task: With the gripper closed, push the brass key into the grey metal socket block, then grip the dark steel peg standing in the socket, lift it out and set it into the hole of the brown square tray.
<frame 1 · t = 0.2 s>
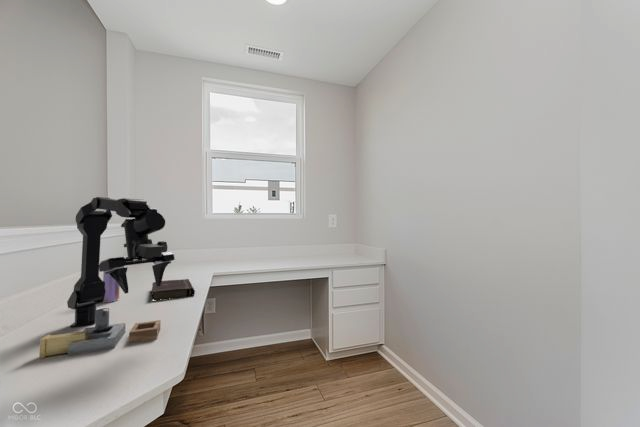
hand: (143, 289, 79), 15 cm above the table, tool pointing down, fingers open, 9 cm apart
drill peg: (101, 340, 80), resting in socket
diary: (171, 294, 135), on the table
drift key: (65, 343, 73), point 3 cm above the table, slide at 0.0 cm
socket: (99, 342, 78), on the table
beverage can: (111, 301, 122), on the table
brown square tray: (145, 335, 83), on the table
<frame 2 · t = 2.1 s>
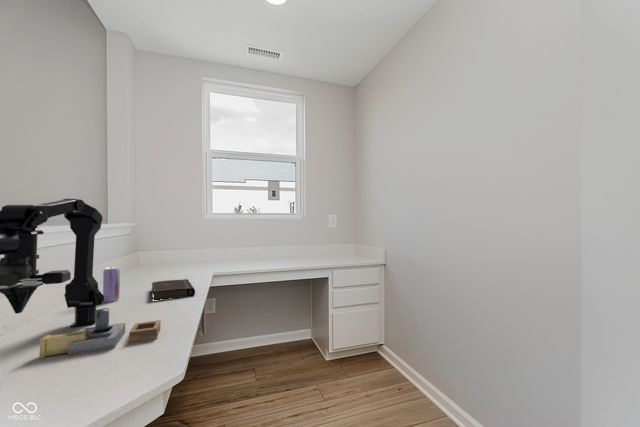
hand: (18, 312, 69), 12 cm above the table, tool pointing down, fingers closed
nothing on the table moved.
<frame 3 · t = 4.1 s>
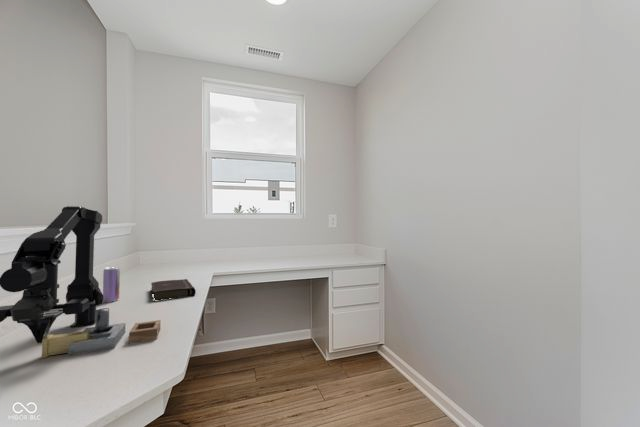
hand: (40, 342, 71), 4 cm above the table, tool pointing down, fingers closed
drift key: (67, 342, 73), point 3 cm above the table, slide at 0.5 cm, touching gripper
everything else where it was.
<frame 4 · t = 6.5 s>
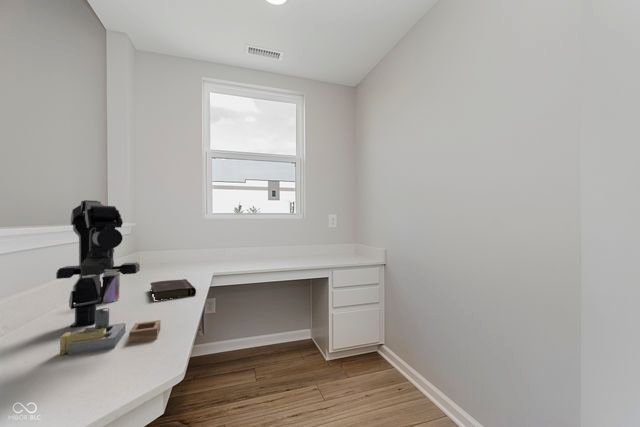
hand: (100, 298, 80), 12 cm above the table, tool pointing down, fingers closed
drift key: (84, 340, 74), point 3 cm above the table, slide at 4.0 cm
everything else where it was.
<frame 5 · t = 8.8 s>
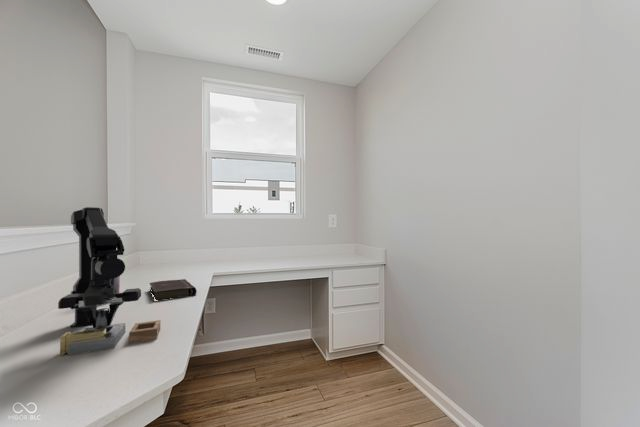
hand: (102, 326, 80), 4 cm above the table, tool pointing down, fingers closed on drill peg, 3 cm apart
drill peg: (101, 340, 80), resting in socket, touching gripper
everything else where it was.
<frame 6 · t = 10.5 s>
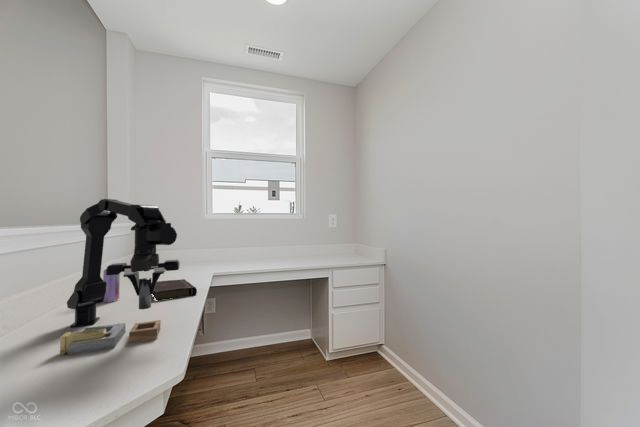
hand: (145, 294, 83), 13 cm above the table, tool pointing down, fingers closed on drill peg, 3 cm apart
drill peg: (144, 307, 83), point 9 cm above the table, touching gripper
everything else where it was.
when the fingers open (5 cm above the table, at t = 12.2 s): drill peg stays where it is, resting in brown square tray.
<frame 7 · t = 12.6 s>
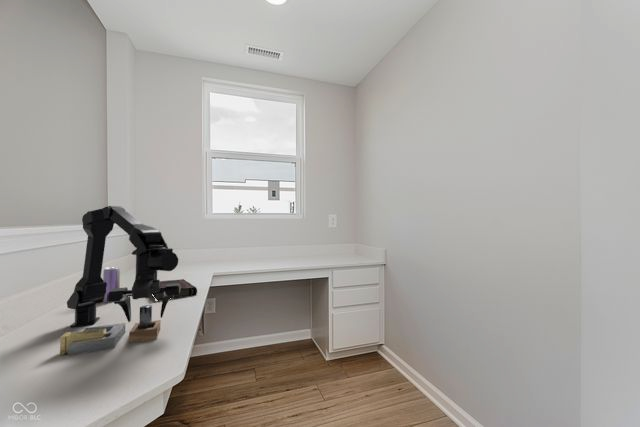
hand: (145, 319, 83), 5 cm above the table, tool pointing down, fingers open, 8 cm apart
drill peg: (145, 335, 83), resting in brown square tray
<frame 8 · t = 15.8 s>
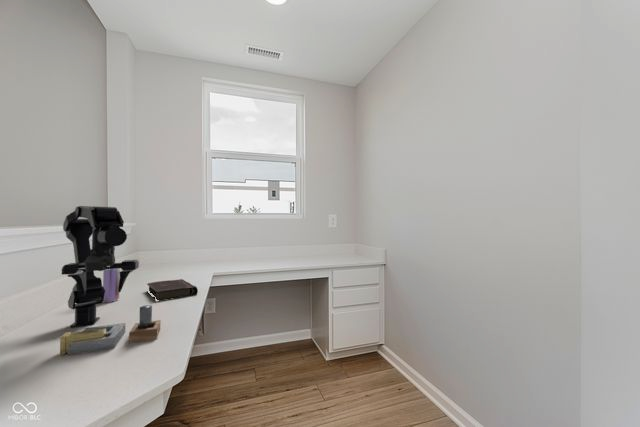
hand: (102, 293, 86), 13 cm above the table, tool pointing down, fingers open, 9 cm apart
at the end: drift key slide at 4.0 cm; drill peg 0.1 cm off-centre on the brown square tray, point 0.0 cm above the brown square tray's base; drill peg tilted 0° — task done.
